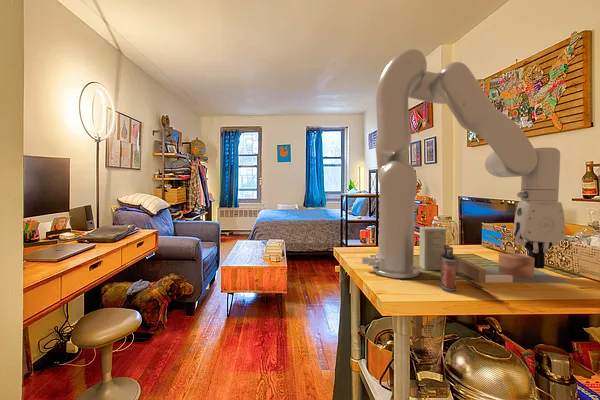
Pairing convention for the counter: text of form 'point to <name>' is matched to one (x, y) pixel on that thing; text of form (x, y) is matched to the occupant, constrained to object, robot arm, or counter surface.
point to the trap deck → (498, 275)
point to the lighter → (448, 270)
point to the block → (516, 265)
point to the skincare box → (431, 247)
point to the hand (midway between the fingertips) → (535, 267)
